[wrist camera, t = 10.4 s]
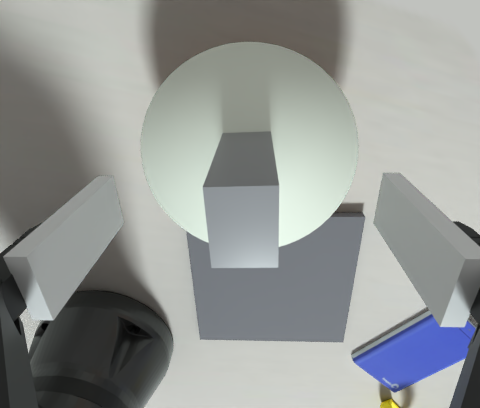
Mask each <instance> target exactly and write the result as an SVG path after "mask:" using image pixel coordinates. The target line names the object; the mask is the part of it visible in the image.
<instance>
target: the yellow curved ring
mask: <svg viewBox="0 0 480 408" xmlns="http://www.w3.org/2000/svg"><path fill="white" fill-rule="evenodd" d="M380 408H399V407H398V406H397V405H396V404H395V403H394V402H393V401H392V399H389V400H386V401H383V402H382V403H381V405H380Z"/></svg>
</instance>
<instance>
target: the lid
mask: <svg viewBox="0 0 480 408" xmlns="http://www.w3.org/2000/svg"><path fill="white" fill-rule="evenodd" d="M358 147H359V145H358V132H357V127H356V123H355V118H354V115H353V113H352V110H351V108H350V105H349V103H348V101H347V99H346V97H345V96H344V94H343V92H342V90H341V89H340V88H339V86H338V85H337V84H336V83H335V81H334V80H333V79H332V77H330V76H329V75H328V74H327V73H326V72H325V71H324V70H323V69H322V68H321V67H320V66H318V65H317V64H316V63H314V62H313V61H311V60H310V59H309V58H307V57H305V56H303V55H301V54H299V53H297V52H295V51H293V50H291V49H288V48H284V47H281V46H278V45H274V44H268V43H263V42H237V43H229V44H224V45H221V46H217V47H214V48H210V49H208V50H206V51H204V52H201V53H199V54H197V55H195V56H194V57H192V58H190V59H189V60H187V61H186V62H184V63H183V64H181V65H180V66H179V67H178V68H177V69H176V70H175V71H173V72H172V73H171V74H170V75H169V76H168V78H167V79H166V80H165V81H164V82H163V83H162V84H161V86H160V87H159V89H158V90H157V92H156V94H155V95H154V97H153V99H152V101H151V103H150V105H149V107H148V110H147V112H146V116H145V119H144V123H143V127H142V134H141V157H142V165H143V169H144V173H145V176H146V180H147V182H148V184H149V187H150V189H151V191H152V193H153V195H154V197H155V198H156V200H157V202H158V203H159V204H160V206H161V207H162V209H163V210H164V211H165V212H166V213H167V215H168V216H169V217H170V218H171V219H172V220H173V221H174V222H175V223H177V224H178V225H179V226H180V227H181V228H183V229H184V230H186V231H187V232H189V233H190V234H192V235H193V236H195V237H197V238H199V239H201V240H203V241H205V242H208V243H209V250H210V259H211V268H278V255H279V247H280V246H284V245H287V244H290V243H292V242H295V241H297V240H299V239H301V238H303V237H305V236H306V235H308V234H310V233H311V232H313V231H314V230H316V229H317V228H318V227H320V226H321V225H322V224H323V223H324V222H325V221H326V220H327V219H329V218H330V216H331V215H332V214H333V213H334V212H335V211H336V209H337V208H338V207H339V205H340V204H341V202H342V201H343V199H344V198H345V196H346V194H347V192H348V190H349V188H350V186H351V183H352V180H353V177H354V175H355V171H356V166H357V161H358Z"/></svg>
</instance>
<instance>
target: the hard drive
mask: <svg viewBox="0 0 480 408" xmlns="http://www.w3.org/2000/svg"><path fill="white" fill-rule="evenodd" d="M475 329H476V326H474V325H473V324H472V323H471V322H470V321H469V320H467V322H466V325H465V327H440V326H439V324H438V323H437V321H436V320H435V318H434V317H433V315H432V314H431V312H430V310H428V311H427V312H425V313H423V314H422V315H420V316H418V317H416V318H415V319H413V320H411V321H409V322H408V323H406V324H404V325H402V326H401V327H399V328H397V329H395V330H394V331H392V332H390V333H389V334H387V335H385V336H383V337H382V338H380V339H378V340H376V341H375V342H373V343H371V344H369V345H368V346H366V347H364V348H363V349H361V350H359V351H357V352H356V353H354V354H352V355H351V356H352V359H353V361H354V363H355V364H356V365H358V366H359V367H360V368H362V369H363V370H364V371H366V372H367V373H368V374H370V375H371V376H373V377H374V378H375V379H377V380H378V381H379V382H381V383H382V384H383V385H384V386H386V387H387V388H389V389H390V390H391V391H393V392H397V391H400V390H402V389H404V388H406V387H408V386H410V385H412V384H414V383H416V382H418V381H420V380H422V379H424V378H426V377H428V376H430V375H432V374H434V373H436V372H438V371H440V370H442V369H445V368H447V367H449V366H451V365H453V364H455V363H457V362H459V361H461V360H463V359H465V358H466V356H467V353H468V350H469V348H467V347H468V345H469V343H470V341H471V338H472V336H473V334H474V332H475Z"/></svg>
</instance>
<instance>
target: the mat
mask: <svg viewBox="0 0 480 408" xmlns="http://www.w3.org/2000/svg"><path fill="white" fill-rule="evenodd" d="M364 221H365V216H364V214H363V213H333V214H332V215H331V216H330V218H329V219H327V220H326V221H325V222H324V223H323V224H322V225H321V226H320V227H318V228H317V229H316V230H314V231H313V232H311V233H310V234H308V235H306V236H305V237H303V238H301V239H299V240H297V241H295V242H292V243H290V244H287V245H284V246H280V247H279V255H278V268H211V259H210V250H209V243H208V242H205V241H203V240H201V239H199V238H197V237H195V236H193V235H192V234H190V233H189V232H187V231H186V232H187V240H188V248H189V256H190V264H191V272H192V279H193V287H194V295H195V303H196V311H197V318H198V326H199V334H200V339H204V340H254V341H305V342H343V340H344V334H345V329H346V323H347V317H348V312H349V306H350V300H351V295H352V289H353V283H354V278H355V272H356V266H357V261H358V255H359V249H360V244H361V238H362V232H363V227H364Z"/></svg>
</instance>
